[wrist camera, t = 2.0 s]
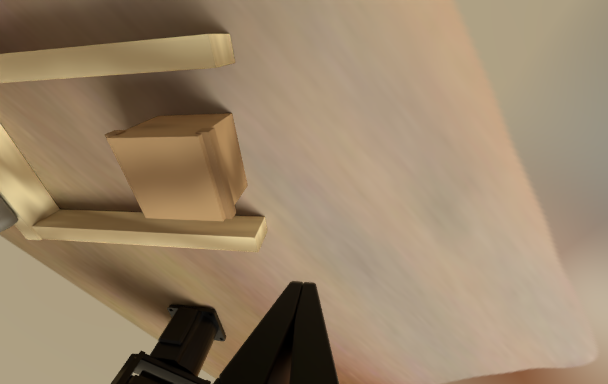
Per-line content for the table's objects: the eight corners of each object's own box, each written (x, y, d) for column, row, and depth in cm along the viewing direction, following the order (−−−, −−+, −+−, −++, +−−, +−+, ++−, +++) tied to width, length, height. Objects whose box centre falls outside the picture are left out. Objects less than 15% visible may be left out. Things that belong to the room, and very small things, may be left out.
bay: (267, 230, 24) (241, 290, 18) (45, 220, 28) (-30, 266, 23) (229, 33, 16) (163, 34, 10) (-73, 62, 20) (-234, 73, 15)
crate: (253, 185, 22) (229, 222, 17) (179, 184, 23) (140, 219, 19) (238, 111, 18) (205, 134, 14) (153, 114, 20) (99, 136, 15)
